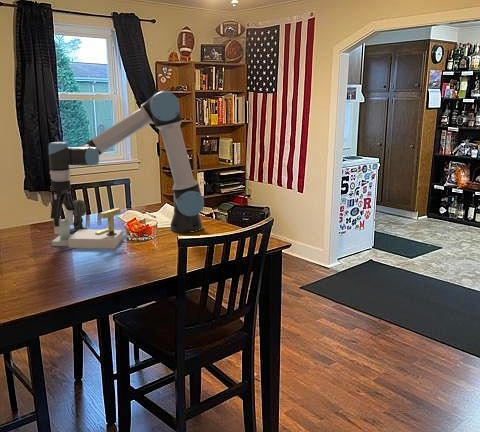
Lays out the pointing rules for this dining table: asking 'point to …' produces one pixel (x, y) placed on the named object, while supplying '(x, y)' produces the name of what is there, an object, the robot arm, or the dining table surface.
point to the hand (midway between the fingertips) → (64, 229)
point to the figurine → (78, 215)
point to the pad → (60, 245)
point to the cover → (63, 234)
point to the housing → (95, 239)
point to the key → (109, 220)
